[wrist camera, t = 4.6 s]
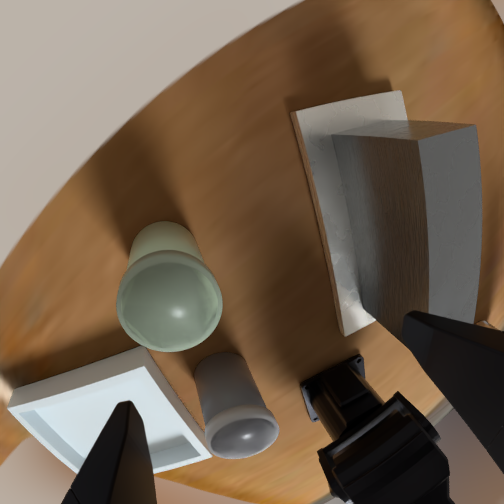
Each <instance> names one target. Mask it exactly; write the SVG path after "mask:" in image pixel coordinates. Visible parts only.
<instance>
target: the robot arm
mask: <svg viewBox="0 0 504 504" xmlns="http://www.w3.org/2000/svg"><path fill="white" fill-rule="evenodd" d="M402 338H403V340H404V342H405V343H406V345H407V346H408V347H409V349H410V350H411V352H412V353H413V355H414V356H415V358H416V359H417V361H418V363H419V364H420V366H421V367H422V368H423V370H424V371H425V372H426V374H427V375H428V376H429V377H430V379H431V380H432V381H433V382H434V384H435V385H436V386H437V387H438V389H439V390H440V391H441V392H442V393H443V395H444V396H445V397H446V398H447V400H448V401H449V402H450V403H451V405H452V406H453V407H454V409H455V410H456V411H457V412H458V414H459V415H460V416H461V417H462V419H463V420H464V421H465V423H466V424H467V425H468V426H469V427H470V429H471V430H472V432H473V433H474V434H475V435H476V437H477V438H478V440H479V441H480V442H481V444H482V445H483V446H484V448H485V449H487V452H488V453H489V455H490V456H491V457H492V459H493V460H494V461H495V463H496V464H497V466H498V467H499V468H500V470H501V471H502V472H503V474H504V331H501V330H496V329H492V328H488V327H483V326H479V325H475V324H471V323H467V322H462V321H458V320H454V319H450V318H446V317H442V316H438V315H433V314H429V313H425V312H421V311H417V310H413V311H411V312H408V313H406V314H405V315H404V318H403V325H402ZM300 388H301V391H302V394H303V397H304V401H305V404H306V407H307V410H308V413H309V417H310V419H311V421H312V422H316V421H318V420H320V421H321V423H322V424H323V426H324V427H325V429H326V431H327V432H328V434H329V435H330V437H331V439H332V440H333V442H332V443H330V444H329V445H328V446H326V447H325V448H321V449H320V450H318V451H317V453H318V455H319V462H320V464H321V466H322V469H323V471H324V473H325V476H326V478H327V481H328V484H329V489H330V493H331V495H332V496H333V497H338V498H340V499H341V500H343V501H344V502H345V503H346V504H455V503H454V502H453V501H452V500H451V498H450V497H449V476H450V472H449V464H448V459H447V457H446V456H445V455H444V453H443V452H442V451H441V450H440V449H439V447H438V446H437V445H436V443H438V442H439V441H440V440H441V438H440V436H439V434H438V432H437V431H436V430H435V428H434V427H433V426H432V424H431V423H430V422H429V421H428V420H427V419H426V417H425V416H424V415H423V414H422V413H421V412H420V411H419V410H417V409H416V408H415V407H414V406H413V405H412V404H411V403H410V402H409V401H408V400H407V399H406V398H405V397H404V396H403V395H402V394H400V393H399V392H398V391H397V392H396V393H395V394H394V395H393V397H392V398H390V399H389V400H388V401H387V402H386V403H385V402H384V401H383V400H382V399H381V397H380V396H379V395H378V394H377V393H376V392H375V390H374V389H373V388H372V387H371V386H370V385H369V383H368V382H367V381H366V380H365V369H364V359H363V357H362V356H361V355H360V354H358V355H356V356H354V357H352V358H350V359H348V360H346V361H344V362H343V363H341V364H339V365H337V366H335V367H333V368H331V369H329V370H327V371H325V372H323V373H321V374H319V375H317V376H315V377H313V378H311V379H308V380H306V381H304V382H303V383H302V384H301V385H300ZM61 504H157V500H156V492H155V483H154V474H153V466H152V461H151V457H150V452H149V448H148V443H147V438H146V433H145V427H144V423H143V420H142V417H141V415H140V414H139V412H138V410H137V409H136V407H135V405H134V403H133V402H132V401H130V400H128V401H122V402H119V403H117V405H116V407H115V408H114V410H113V412H112V413H111V415H110V417H109V419H108V420H107V422H106V424H105V426H104V427H103V429H102V431H101V433H100V434H99V436H98V438H97V440H96V441H95V443H94V445H93V447H92V448H91V450H90V452H89V454H88V456H87V457H86V459H85V461H84V463H83V465H82V466H81V468H80V470H79V472H78V474H77V475H76V478H75V479H74V481H73V483H72V485H71V489H69V490H68V492H67V494H66V495H65V497H64V499H63V501H62V503H61Z"/></svg>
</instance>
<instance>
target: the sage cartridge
mask: <svg viewBox="0 0 504 504" xmlns="http://www.w3.org/2000/svg"><path fill="white" fill-rule="evenodd" d="M116 307H117V315H118V318H119V321H120V323H121V325H122V327H123V329H124V330H125V331H126V333H127V334H128V335H129V336H130V337H131V338H132V339H133V340H135V341H136V342H137V343H139V344H140V345H142V346H144V347H147V348H149V349H152V350H156V351H162V352H176V351H182V350H186V349H189V348H191V347H194V346H196V345H198V344H199V343H201V342H202V341H204V340H205V339H206V338H207V337H208V336H209V335H210V334H211V333H212V332H213V331H214V329H215V328H216V326H217V325H218V322H219V320H220V317H221V314H222V307H223V306H222V295H221V292H220V289H219V286H218V284H217V282H216V280H215V277H214V275H213V274H212V272H211V271H210V269H209V268H208V267H207V266H206V265H205V263H204V261H203V258H202V256H201V253H200V251H199V248H198V245H197V243H196V240H195V238H194V237H193V235H192V234H191V233H190V232H189V231H188V230H187V229H186V228H185V227H183V226H182V225H180V224H177V223H174V222H170V221H160V222H155V223H152V224H150V225H148V226H146V227H145V228H143V229H142V230H141V231H140V232H139V233H138V234H137V236H136V237H135V239H134V241H133V243H132V247H131V251H130V256H129V261H128V266H127V270H126V272H125V274H124V275H123V277H122V280H121V282H120V286H119V290H118V295H117V302H116Z"/></svg>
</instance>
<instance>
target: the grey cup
mask: <svg viewBox="0 0 504 504" xmlns="http://www.w3.org/2000/svg"><path fill="white" fill-rule="evenodd" d="M194 378H195V383H196V387H197V392H198V396H199V401H200V405H201V409H202V413H203V417H204V421H205V425H206V427H205V438H206V442H207V446H208V448H209V450H210V451H211V452H212V453H213V454H214V455H216V456H218V457H221V458H226V459H240V458H246V457H249V456H253V455H255V454H258V453H260V452H262V451H263V450H265V449H267V448H268V447H269V446H270V445H272V444H273V442H274V441H275V440H276V439H277V437H278V434H279V426H278V424H277V422H276V420H275V418H274V416H273V414H272V412H271V411H270V410H269V409H267V408H266V405H265V403H264V401H263V399H262V397H261V394H260V392H259V390H258V388H257V386H256V383H255V381H254V379H253V377H252V374H251V372H250V370H249V368H248V365H247V363H246V361H245V360H244V359H243V358H242V357H241V356H239V355H237V354H234V353H230V352H221V353H216V354H212V355H210V356H208V357H206V358H205V359H203V360H202V361H201V362H200V363H199V364H198V366H197V367H196V369H195V373H194Z"/></svg>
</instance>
